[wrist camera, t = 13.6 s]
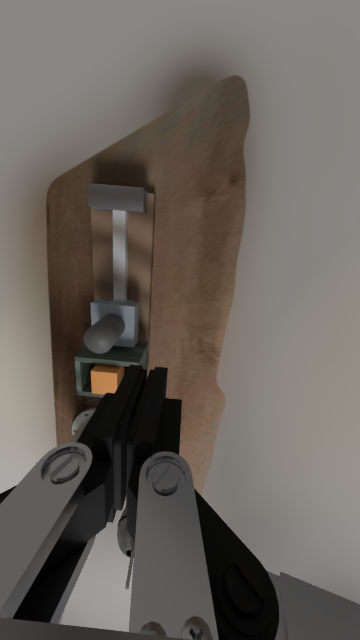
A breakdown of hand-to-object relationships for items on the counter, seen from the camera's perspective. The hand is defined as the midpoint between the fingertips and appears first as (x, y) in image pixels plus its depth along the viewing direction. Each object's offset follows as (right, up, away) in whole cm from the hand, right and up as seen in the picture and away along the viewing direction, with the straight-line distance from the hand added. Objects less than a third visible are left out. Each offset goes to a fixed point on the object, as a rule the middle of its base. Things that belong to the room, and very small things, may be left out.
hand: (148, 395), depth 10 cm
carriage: (-9, +4, +29) cm, 31 cm away
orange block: (-10, -5, +28) cm, 30 cm away
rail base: (-9, +9, +30) cm, 33 cm away
